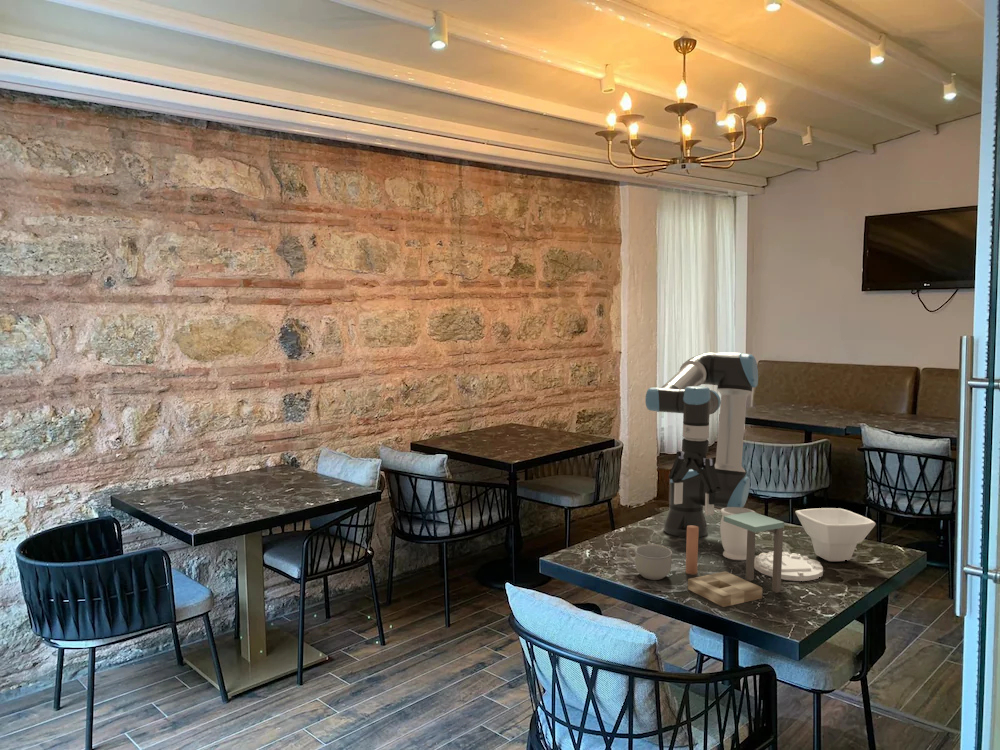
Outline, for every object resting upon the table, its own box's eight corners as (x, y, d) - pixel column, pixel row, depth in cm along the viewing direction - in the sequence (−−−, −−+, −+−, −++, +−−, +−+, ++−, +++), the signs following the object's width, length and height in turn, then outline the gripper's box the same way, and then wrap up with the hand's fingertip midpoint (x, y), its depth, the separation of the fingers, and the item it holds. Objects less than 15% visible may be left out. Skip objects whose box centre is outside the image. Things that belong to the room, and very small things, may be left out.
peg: (683, 571, 222) (684, 526, 221) (691, 569, 224) (693, 524, 223) (690, 575, 219) (692, 529, 218) (699, 573, 221) (701, 527, 220)
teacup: (678, 576, 218) (679, 550, 217) (657, 585, 211) (658, 558, 210) (639, 564, 228) (640, 539, 227) (618, 573, 221) (618, 547, 220)
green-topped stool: (721, 583, 212) (723, 516, 211) (749, 577, 217) (752, 511, 216) (752, 598, 202) (755, 527, 200) (781, 591, 207) (784, 522, 205)
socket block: (687, 589, 208) (688, 578, 208) (725, 581, 214) (725, 571, 214) (723, 607, 196) (723, 596, 195) (762, 598, 202) (762, 587, 202)
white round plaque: (754, 579, 217) (755, 570, 217) (750, 557, 236) (751, 548, 236) (828, 586, 212) (828, 576, 212) (817, 563, 231) (818, 554, 231)
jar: (719, 560, 233) (721, 513, 231) (719, 550, 243) (720, 505, 241) (755, 563, 230) (756, 516, 229) (753, 553, 240) (754, 507, 238)
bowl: (825, 571, 223) (827, 526, 222) (788, 551, 242) (790, 509, 241) (879, 567, 227) (881, 523, 226) (838, 547, 246) (840, 506, 245)
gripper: (658, 433, 227) (656, 500, 229) (715, 446, 205) (713, 521, 207) (677, 431, 231) (675, 498, 232) (735, 444, 208) (733, 518, 210)
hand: (693, 509), depth 220 cm, fingers open, 13 cm apart
